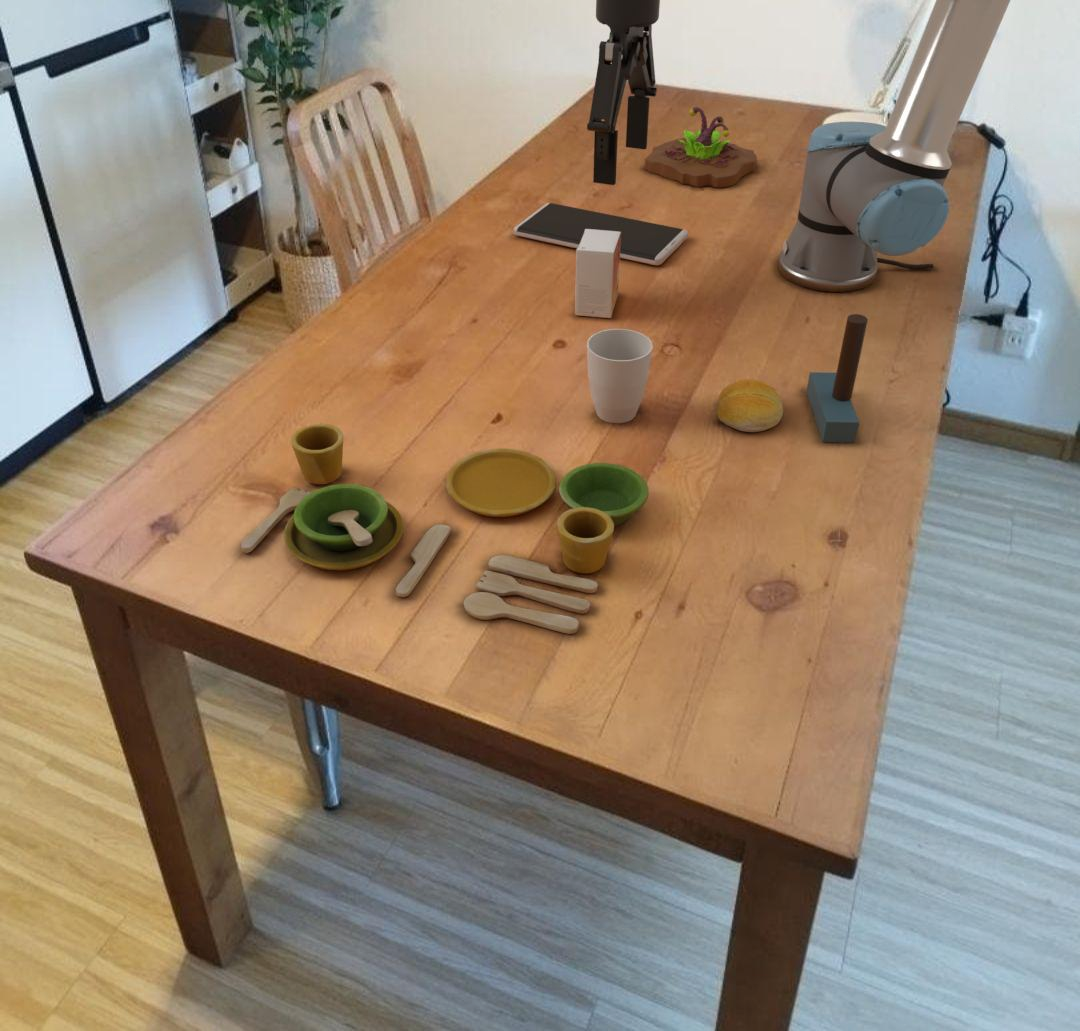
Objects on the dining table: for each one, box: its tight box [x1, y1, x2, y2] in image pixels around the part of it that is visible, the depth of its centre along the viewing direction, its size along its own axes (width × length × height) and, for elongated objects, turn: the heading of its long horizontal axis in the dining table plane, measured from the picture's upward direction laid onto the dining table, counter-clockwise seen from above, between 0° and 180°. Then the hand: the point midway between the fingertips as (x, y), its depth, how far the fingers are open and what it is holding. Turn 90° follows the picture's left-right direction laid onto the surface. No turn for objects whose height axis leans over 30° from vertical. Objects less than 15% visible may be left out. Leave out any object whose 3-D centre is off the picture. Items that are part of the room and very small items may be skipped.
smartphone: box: [513, 202, 689, 266], centre depth 181 cm, size 13×27×2 cm, turn 63°
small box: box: [574, 229, 621, 319], centre depth 159 cm, size 8×6×10 cm
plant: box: [644, 106, 757, 189], centre depth 205 cm, size 20×20×11 cm
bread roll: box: [716, 378, 784, 433], centre depth 137 cm, size 8×9×4 cm
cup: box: [586, 328, 653, 424], centre depth 135 cm, size 8×8×10 cm
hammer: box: [806, 313, 869, 444], centre depth 134 cm, size 4×12×14 cm, turn 179°
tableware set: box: [241, 423, 650, 635], centre depth 119 cm, size 41×28×6 cm
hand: (620, 164), depth 139 cm, fingers open, 13 cm apart
